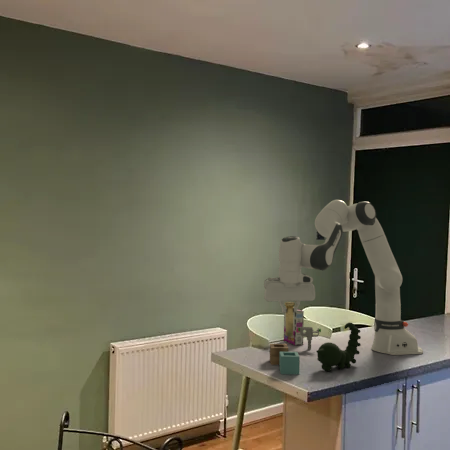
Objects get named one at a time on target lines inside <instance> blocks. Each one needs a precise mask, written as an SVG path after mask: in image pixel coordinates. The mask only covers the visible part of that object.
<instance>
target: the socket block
mask: <svg viewBox="0 0 450 450" xmlns="http://www.w3.org/2000/svg"><path fill="white" fill-rule="evenodd" d="M300 357H301V356H300V354H299V353H298V351H288V352H279V365H278V366H279V368H278V369H279V372H280V374H281V375H300V362H301V361H300Z"/></svg>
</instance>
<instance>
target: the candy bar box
mask: <svg viewBox="0 0 450 450" xmlns="http://www.w3.org/2000/svg"><path fill="white" fill-rule="evenodd" d="M304 317H305V314H304V310H300V309H298V308H297V312H293V336H286V313H283V341H284V342H285V341H286V342H285V343H288V344H290V345H292V346H303V345H304V336H301V335H300V331H298V328H300V327H304V320H305V319H304Z"/></svg>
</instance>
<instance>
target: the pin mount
mask: <svg viewBox="0 0 450 450" xmlns="http://www.w3.org/2000/svg"><path fill="white" fill-rule="evenodd" d="M279 352H289V347H288V344H287V343H269V362H270V365H272V366H273V365H275V366H276V365H278V366H279Z"/></svg>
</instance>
